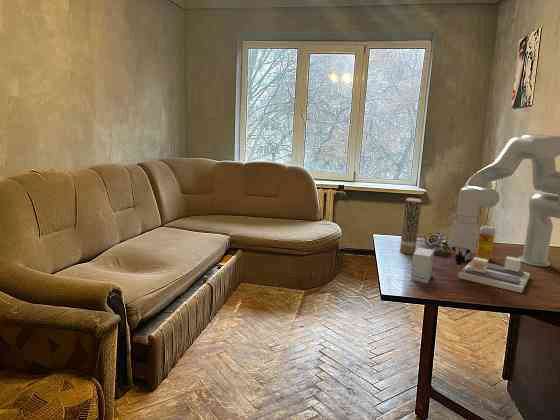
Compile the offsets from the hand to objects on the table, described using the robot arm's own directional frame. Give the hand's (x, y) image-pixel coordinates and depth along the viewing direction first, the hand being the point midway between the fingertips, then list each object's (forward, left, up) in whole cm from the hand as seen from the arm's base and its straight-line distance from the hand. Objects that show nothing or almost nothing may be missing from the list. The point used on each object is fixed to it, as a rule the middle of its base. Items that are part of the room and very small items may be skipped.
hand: (459, 264), depth 168 cm
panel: (-6, +12, -4) cm, 14 cm away
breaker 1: (0, +7, -1) cm, 7 cm away
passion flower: (-28, -17, -4) cm, 33 cm away
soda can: (-24, -4, -4) cm, 25 cm away
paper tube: (-14, -26, -4) cm, 30 cm away
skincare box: (+16, -10, -4) cm, 19 cm away
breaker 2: (-12, +17, -1) cm, 21 cm away
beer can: (-32, +3, -4) cm, 32 cm away
